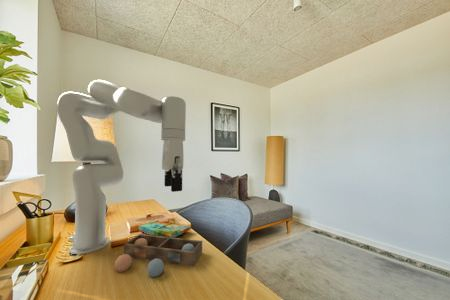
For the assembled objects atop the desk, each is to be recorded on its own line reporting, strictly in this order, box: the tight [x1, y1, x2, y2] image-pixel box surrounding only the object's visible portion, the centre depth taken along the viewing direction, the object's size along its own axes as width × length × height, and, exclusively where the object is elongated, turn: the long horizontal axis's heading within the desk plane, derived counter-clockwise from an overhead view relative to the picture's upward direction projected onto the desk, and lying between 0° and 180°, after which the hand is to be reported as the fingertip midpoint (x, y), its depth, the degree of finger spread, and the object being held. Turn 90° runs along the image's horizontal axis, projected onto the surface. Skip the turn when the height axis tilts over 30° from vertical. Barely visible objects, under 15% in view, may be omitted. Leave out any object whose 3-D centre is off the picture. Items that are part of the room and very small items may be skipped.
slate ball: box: [146, 259, 165, 278], centre depth 53 cm, size 5×5×5 cm
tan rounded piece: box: [134, 238, 148, 246], centre depth 65 cm, size 5×5×5 cm
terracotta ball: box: [114, 253, 133, 273], centre depth 55 cm, size 5×5×5 cm
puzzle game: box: [138, 217, 192, 238], centre depth 81 cm, size 12×5×20 cm
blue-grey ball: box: [182, 243, 195, 251], centre depth 61 cm, size 5×5×5 cm
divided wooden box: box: [123, 233, 203, 268], centre depth 63 cm, size 25×8×5 cm, turn 78°
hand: (172, 188), depth 59 cm, fingers open, 9 cm apart
